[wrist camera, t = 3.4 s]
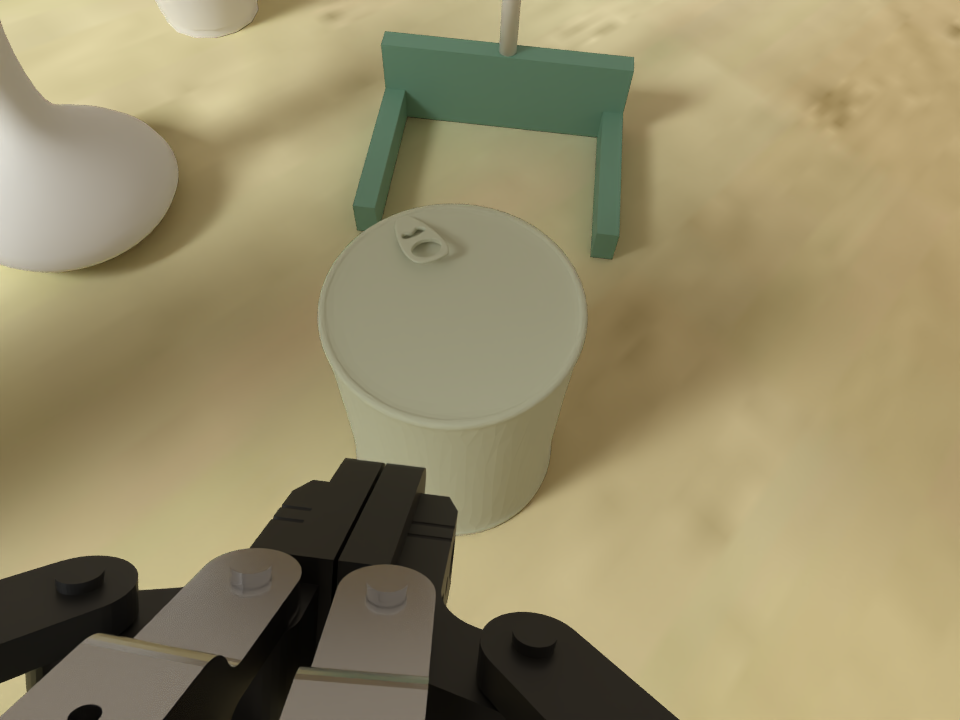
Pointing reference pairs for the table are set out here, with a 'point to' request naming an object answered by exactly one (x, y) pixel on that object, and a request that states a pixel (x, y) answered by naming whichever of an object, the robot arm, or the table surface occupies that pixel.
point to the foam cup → (208, 16)
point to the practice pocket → (501, 106)
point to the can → (455, 351)
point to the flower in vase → (74, 178)
